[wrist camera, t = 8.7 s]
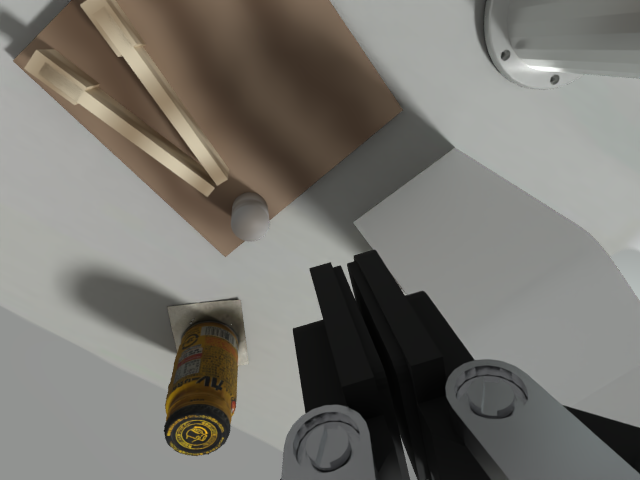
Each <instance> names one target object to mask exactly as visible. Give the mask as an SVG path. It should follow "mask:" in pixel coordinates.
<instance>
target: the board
mask: <svg viewBox="0 0 640 480" xmlns="http://www.w3.org/2000/svg"><path fill="white" fill-rule="evenodd" d="M85 1H86V0H71V1H70V2H69V4H68V5H67V6H66V7H65V8H64V9H63V10H62V11H61V12H60V13H59V14H58V15H57V16H56V17H55V18H54V19H53V20H52V21H51V22H50V23H49V24H48V25H47V26H46V27H45V28H44V29H43V30H42V31H41V32H40V33H39V34H38V35H37V36H36V37H35V38H34V40H33V41H32V42H31V43H30V44H29V45H28V46H27V47H26V48H25V49H24V50H23V51H22V52H21V53H20V54H19V55H18V56H17V57H16V58H15V59H14V60H13V61H14V62H15V63H16V64H17V65H18V66H19V67H20V68H21V69H22V70H23V71H24V72H26V73H27V74H28V75H29V76H30V77H31V78H32V79H33V80H34V81H35V82H36V83H37V84H39V85H40V86H41V87H42V88H43V89H44V90H45V91H46V92H47V93H48V94H49V95H50V96H51V97H53V98H54V99H55V100H56V101H57V102H58V103H59V104H60V105H61V106H62V107H63V108H64V109H66V110H67V111H68V112H69V113H70V114H71V115H72V116H73V117H74V118H75V119H76V120H77V121H79V122H80V123H81V124H82V125H83V126H84V127H85V128H86V129H87V130H88V131H89V132H90V133H92V134H93V135H94V136H95V137H96V138H97V139H98V140H99V141H100V142H101V143H102V144H103V145H105V146H106V147H107V148H108V149H109V150H110V151H111V152H112V153H113V154H114V155H115V156H116V157H118V158H119V159H120V160H121V161H122V162H123V163H124V164H125V165H126V166H127V167H128V168H129V169H131V170H132V171H133V172H134V173H135V174H136V175H137V176H138V177H139V178H140V179H141V180H142V181H144V182H145V183H146V184H147V185H148V186H149V187H150V188H151V189H152V190H153V191H154V192H155V193H157V194H158V195H159V196H160V197H161V198H162V199H163V200H164V201H165V202H166V203H167V204H168V205H169V206H171V207H172V208H173V209H174V210H175V211H176V212H177V213H178V214H179V215H180V216H181V217H182V218H184V219H185V220H186V221H187V222H188V223H189V224H190V225H191V226H192V227H193V228H194V229H195V230H197V231H198V232H199V233H200V234H201V235H202V236H203V237H204V238H205V239H206V240H207V241H208V242H210V243H211V244H212V245H213V246H214V247H215V248H216V249H217V250H218V251H219V252H220V253H221V254H223V255H224V256H225V257H226V256H227V255H228V254H230V253H231V252H232V251H233V250H234V249H236V248H237V247H238V246H239V245H240V244H242V243H243V242H244V240H242V239H240V238H238V237H237V236H236V235H235V234H234V233H233V231H232V228H231V216H232V206H233V203H234V201H235V199H236V198H237V197H238V196H239V195H241V194H243V193H247V192H253V193H257V194H259V195H260V196H262V197H263V198H264V199H265V201H266V203H267V205H268V213H269V220H271V219H272V218H273V217H274V216H276V215H277V214H278V213H279V212H280V211H282V210H283V209H284V208H285V207H286V206H288V205H289V204H290V203H291V202H292V201H294V200H295V199H296V198H297V197H298V196H300V195H301V194H302V193H303V192H305V191H306V190H307V189H308V188H309V187H311V186H312V185H313V184H314V183H315V182H317V181H318V180H319V179H320V178H321V177H323V176H324V175H325V174H326V173H327V172H329V171H330V170H331V169H332V168H334V167H335V166H336V165H337V164H338V163H340V162H341V161H342V160H343V159H344V158H346V157H347V156H348V155H349V154H350V153H352V152H353V151H354V150H355V149H356V148H358V147H359V146H360V145H361V144H363V143H364V142H365V141H366V140H367V139H369V138H370V137H371V136H372V135H373V134H375V133H376V132H377V131H378V130H379V129H381V128H382V127H383V126H384V125H386V124H387V123H388V122H389V121H390V120H392V119H393V118H394V117H395V116H396V115H398V114H399V113H400V112H401V111H402V110H403V109H402V108H401V106H400V105H399V103H398V102H397V100H396V99H395V97H394V96H393V94H392V93H391V91H390V90H389V89H388V87H387V86H386V84H385V83H384V81H383V80H382V78H381V77H380V75H379V74H378V72H377V71H376V69H375V68H374V66H373V65H372V63H371V62H370V60H369V59H368V57H367V56H366V54H365V53H364V51H363V50H362V48H361V47H360V45H359V44H358V42H357V41H356V39H355V38H354V36H353V35H352V33H351V32H350V31H349V29H348V28H347V26H346V25H345V23H344V22H343V20H342V19H341V17H340V16H339V14H338V13H337V11H336V10H335V8H334V7H333V5H332V4H331V2H330V1H329V0H116V2H117V3H118V5H119V6H120V7H121V9H122V10H123V12H124V13H125V15H126V16H127V18H128V19H129V20H130V22H131V23H132V25H133V26H134V28H135V29H136V30H137V32H138V33H139V35H140V36H141V38H142V39H143V41H144V42H145V43H146V45H145V46H143V47H144V49H145V50H146V52H147V53H148V55H149V56H150V57H151V59H152V60H153V62H154V63H155V65H156V66H157V67H158V69H159V70H160V72H161V73H162V74H163V76H164V77H165V79H166V80H167V82H168V83H169V84H170V86H171V87H172V89H173V90H174V92H175V93H176V94H177V96H178V97H179V99H180V100H181V102H182V103H183V104H184V106H185V107H186V109H187V110H188V112H189V113H190V114H191V116H192V117H193V119H194V120H195V122H196V123H197V124H198V126H199V127H200V129H201V130H202V132H203V133H204V134H205V136H206V137H207V139H208V140H209V142H210V143H211V144H212V146H213V147H214V149H215V150H216V152H217V153H218V154H219V156H220V157H221V159H222V160H223V162H224V163H225V164H226V166H227V167H228V169H229V175H228V180H226V181H225V182H223V183H221V184H220V185H218V186H217V185H216V186H215V189H214V190H213V191H212V192H211V193H210V195H209V196H208V197H207V196H205V195H204V194H203V193H201V192H200V191H198V190H197V189H196V188H194V187H193V186H192V185H190V184H189V183H187V182H186V181H185V180H183V179H182V178H181V177H179V176H178V175H176V174H175V173H174V172H172V171H171V170H170V169H168V168H167V167H165V166H164V165H163V164H161V163H160V162H159V161H157V160H156V159H154V158H153V157H152V156H150V155H149V154H148V153H146V152H145V151H143V150H142V149H141V148H139V147H138V146H137V145H135V144H134V143H133V142H131V141H130V140H128V139H127V138H126V137H124V136H123V135H122V134H120V133H119V132H117V131H116V130H115V129H113V128H112V127H111V126H109V125H108V124H106V123H105V122H104V121H102V120H101V119H100V118H98V117H97V116H95V115H94V114H93V113H91V112H90V111H89V110H87V109H86V108H84V107H83V106H82V105H80V104H76V105H73V104H72V103H71V102H69V101H68V100H67V99H65V98H64V97H62V96H61V95H60V94H58V93H57V92H56V91H54V90H53V89H51V88H50V87H49V86H47V85H46V84H44V83H43V82H42V81H40V80H39V79H38V78H36V77H35V76H33V75H32V74H31V73H29V72H28V71H26V70H25V69H24V68H25V66H26V65H27V63H28V62H29V60H30V59H31V57H32V55H33V54H34V52H35V51H36V50H49V49H55V50H56V51H57V52H59V53H60V54H61V55H63V56H64V57H65V58H67V59H68V60H69V61H71V62H72V63H73V64H74V65H76V66H77V67H78V68H80V69H81V70H82V71H84V72H85V73H86V74H88V75H89V76H90V77H92V78H93V79H94V80H95V81H97V82H98V83H99V84H100V85H99V86H98V88H100V89H101V90H102V91H104V92H105V93H106V94H108V95H109V96H110V97H112V98H113V99H114V100H116V101H117V102H118V103H120V104H121V105H122V106H124V107H125V108H126V109H127V110H129V111H130V112H131V113H133V114H134V115H135V116H137V117H138V118H139V119H141V120H142V121H143V122H145V123H146V124H147V125H149V126H150V127H151V128H153V129H154V130H155V131H157V132H158V133H159V134H161V135H162V136H163V137H164V138H166V139H167V140H168V141H170V142H171V143H172V144H174V145H175V146H176V147H178V148H179V149H180V150H182V151H183V152H184V153H186V154H187V155H188V156H190V157H191V158H192V159H194V160H195V161H196V162H197V163H199V164H200V165H201V166H202V164H201V163H200V161H199V160H198V159H197V157H196V156H195V155H194V153H193V152H192V151H191V149H190V148H189V146H188V145H187V144H186V142H185V141H184V140H183V138H182V137H181V135H180V134H179V133H178V131H177V130H176V129H175V127H174V126H173V124H172V123H171V122H170V120H169V119H168V118H167V116H166V115H165V114H164V112H163V111H162V109H161V108H160V107H159V105H158V104H157V103H156V101H155V100H154V98H153V97H152V96H151V94H150V93H149V92H148V90H147V89H146V88H145V86H144V85H143V83H142V82H141V81H140V79H139V78H138V77H137V75H136V74H135V72H134V71H133V70H132V68H131V67H130V66H129V64H128V63H127V61H126V60H125V59H124V57H123V56H122V57H118V56H117V55H116V54H115V52H114V51H113V50H112V48H111V47H110V45H109V44H108V43H107V41H106V40H105V39H104V37H103V36H102V35H101V33H100V32H99V31H98V29H97V28H96V26H95V25H94V24H93V22H92V21H91V20H90V18H89V17H88V16H87V14H86V13H85V11H84V10H83V9H82V7H81V6H80V5H81V4H82V3H84V2H85Z"/></svg>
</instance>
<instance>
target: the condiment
mask: <svg viewBox="0 0 640 480" xmlns="http://www.w3.org/2000/svg"><path fill="white" fill-rule="evenodd" d="M167 309H168V314H169V318H170V323H171V327H172V333H173V337H174V341H175V345H176V350H177V355H176V359H175V362H174V369H173V372H172V377H171V382H170V384H169V386H168V394H167V398H166V404H165V409H166V413H167V417H166V424H165V426H164V427H165V429H164V432H165V438H166V441H167V443H168V445H169V446H170V447H172V448H173V449H174V450H175V451H177V452H179V453H182V454H185V455H192V456H198V455H204V454H209V453H211V452H213V451H215V450H217V449H218V448H220V447H221V446H222V445H223V444H224V443H225V442H226V440H227V438H228V436H229V433H230V423H231V417H232V416H233V414H234V411H235V408H236V397H237V396H236V395H237V371H238V366H239V365H247V364H249V361H248V353H247V345H246V337H245V330H244V322H243V314H242V307H241V300H233V301H232V300H228V301H218V302H206V303H196V304H188V305H179V306H170V307H167ZM192 319H194V320H193V321H191V320H192ZM190 322H192V323H191V324H190ZM231 324H232V325H231Z"/></svg>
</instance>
